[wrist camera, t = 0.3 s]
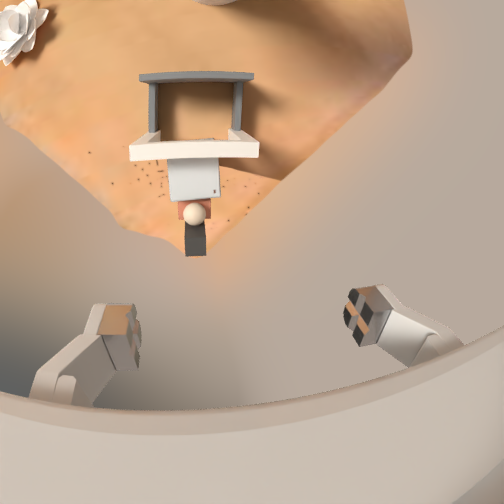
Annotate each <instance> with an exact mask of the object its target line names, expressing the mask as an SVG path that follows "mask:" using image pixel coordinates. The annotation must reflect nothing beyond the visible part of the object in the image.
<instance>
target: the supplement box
mask: <svg viewBox="0 0 504 504" xmlns="http://www.w3.org/2000/svg"><path fill="white" fill-rule="evenodd" d="M198 140H214V138H207V139H198ZM167 165H168V177H169V190H170V200H171V202H176V201H185V200H196V199H205V198H216V197H221V190H220V172H219V159H218V157H207V158H174V159H167Z"/></svg>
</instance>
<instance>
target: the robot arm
mask: <svg viewBox="0 0 504 504" xmlns="http://www.w3.org/2000/svg"><path fill="white" fill-rule="evenodd" d="M193 1H196V2H198V3H201V4H206V5H223V4H228V3H231V2H234V1H236V0H193ZM348 298H349V300H350V301H349V302H348V303H347V304H346V305H345V308H344V312H343V314H344V321H345V324H346V325H347V327H348V328H349V329H351V330H352V331H353V337H354V339H355V340H356V342H357V344H358V346H359V347H361V346H366V345H371V344H376V343H377V345H378V346H379V347H381V348H382V349H383V350H385V351H386V352H388V353H389V354H390V355H392V356H393V357H394V358H396V359H397V360H399V361H400V362H402V363H403V364H404V365H405V366H407V367H408V368H407V369H404V370H401V371H398V372H395V373H392V374H389V375H386V376H383V377H379V378H376V379H373V380H370V381H366V382H362V383H359V384H355V385H351V386H348V387H343V388H339V389H336V390H332V391H327V392H322V393H318V394H313V395H308V396H303V397H298V398H293V399H287V400H281V401H274V402H268V403H261V404H254V405H245V406H236V407H226V408H214V409H200V410H199V409H198V410H170V411H145V410H144V411H143V410H118V409H104V408H94V406H93V405H92V403H93V401H94V400H95V399H96V397H97V396H98V395H99V394H100V392H101V391H102V390H103V388H104V387H105V386H106V384H107V383H108V382H109V380H110V379H111V378H112V377H113V375H114V374H115V373H116V371H126V370H127V371H128V370H138V368H139V359H140V355H139V352H138V349H139V348H140V347H141V327H140V323H139V321H138V320H137V319H136V314H137V311H136V307H135V305H134V304H129V303H127V304H126V303H125V304H124V303H108V304H106V303H96V304H94V305H93V307H92V310H91V312H90V315H89V318H88V321H87V324H86V327H85V330H84V333H83V335H79V336H78V337H76V338H75V339H74V340H73V341H71V342H70V343H69V344H68V345H67V346H65V347H64V348H63V349H62V350H61V351H59V353H57V354H56V355H55V356H54V357H52V358H51V359H50V360H49V361H48V362H47V363H46V364H45V365H43V366H42V367H41V368H40V369H39V370H38V371H37V373H36V376H35V379H34V382H33V385H32V388H31V392H30V395H29V398H26V397H21V396H17V395H12V394H8V393H4V392H0V504H504V326H502V327H500V328H498V329H497V330H495V331H493V332H491V333H489V334H487V335H485V336H483V337H481V338H479V339H477V340H475V341H473V342H471V343H469V344H466V345H463V343H462V342H461V341H460V339H459V338H458V337H457V336H456V335H455V333H454V332H453V331H452V330H451V329H450V328H449V327H447V326H445V325H443V324H441V323H439V322H437V321H435V320H433V319H431V318H429V317H427V316H424V315H423V314H421V313H419V312H416V311H414V310H412V309H410V308H408V307H404V306H403V305H402V304H401V303H400V302H399V300H397V298H396V297H395V296H394V295H393V294H392V292H391V291H390V290H389V289H388V288H387V287H386V286H385V285H383V284H381V285H374V286H369V287H362V288H353V289H352V290H351V291H350V292H349V295H348Z"/></svg>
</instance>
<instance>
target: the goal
mask: <svg viewBox="0 0 504 504" xmlns="http://www.w3.org/2000/svg"><path fill="white" fill-rule="evenodd" d="M251 80H254V73H245V72H222V71H187V72H165V73H151V74H140V75H139V81H140V82H144V83H147V84H149V131H148V132H147V133H146V134H144V135H143V136H141V137H140V138H139V139H137V140H136V141H135V142H133V143H132V144H131V145H130V146H129V150H130V161H141V160H155V159H174V158H207V157H248V158H258V156H259V142H258V141H257V140H255V139H254V138H253V137H251V136H250V135H248V134H247V133H245V132H244V131H243V130H241V111H242V94H243V83H244V82H247V81H251ZM182 82H230V83H234V89H233V107H232V126H231V128H229V130H228V140H185V141H163V142H160V141H161V130H158V84H162V83H182Z"/></svg>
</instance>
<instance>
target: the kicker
mask: <svg viewBox="0 0 504 504" xmlns="http://www.w3.org/2000/svg"><path fill="white" fill-rule="evenodd" d="M178 215H179V220H183V219H184V220H185V254H186V256H206V234H205V224H204V219H209V218H211V199H210V198H205V199H196V200H185V201H178Z"/></svg>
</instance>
